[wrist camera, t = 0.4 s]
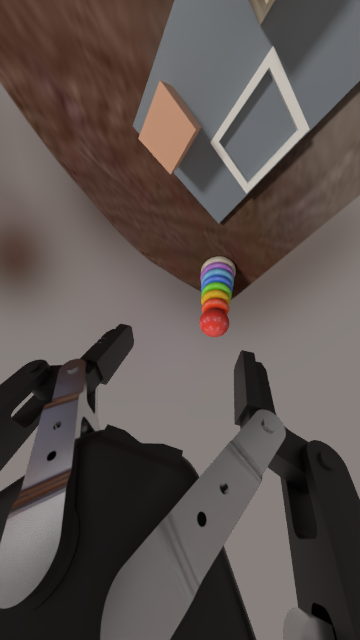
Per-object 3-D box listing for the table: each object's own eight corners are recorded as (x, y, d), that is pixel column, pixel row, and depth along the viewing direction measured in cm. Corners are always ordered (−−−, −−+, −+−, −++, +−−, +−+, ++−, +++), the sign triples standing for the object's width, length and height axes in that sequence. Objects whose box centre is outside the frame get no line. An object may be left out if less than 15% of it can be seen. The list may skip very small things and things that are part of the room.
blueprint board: (135, 126, 23) (130, 126, 21) (288, -323, 9) (296, -394, 7) (218, 221, 30) (218, 225, 29) (375, 60, 16) (387, 56, 15)
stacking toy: (229, 285, 41) (227, 350, 29) (199, 280, 41) (186, 341, 30) (240, 257, 34) (243, 326, 23) (204, 252, 35) (190, 316, 24)
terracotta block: (151, 135, 22) (138, 138, 19) (171, 85, 19) (159, 80, 16) (178, 167, 24) (170, 174, 21) (201, 127, 21) (195, 129, 18)
